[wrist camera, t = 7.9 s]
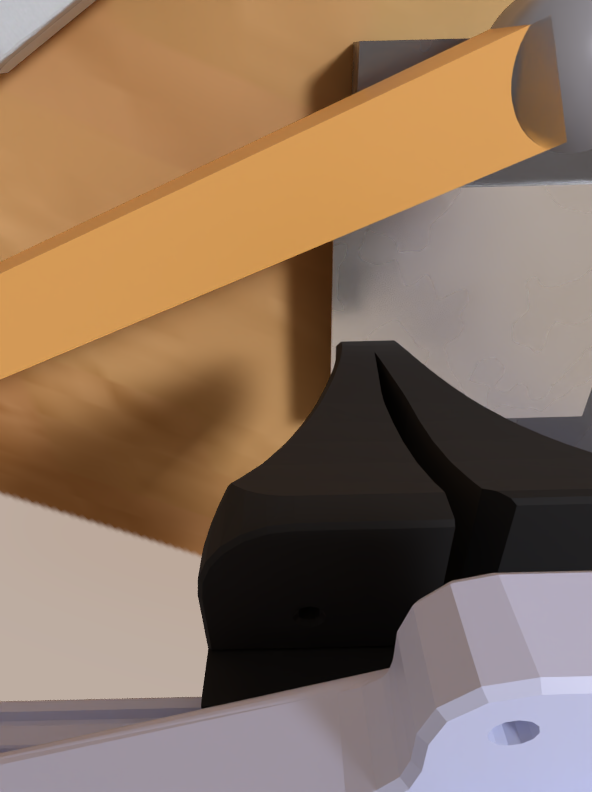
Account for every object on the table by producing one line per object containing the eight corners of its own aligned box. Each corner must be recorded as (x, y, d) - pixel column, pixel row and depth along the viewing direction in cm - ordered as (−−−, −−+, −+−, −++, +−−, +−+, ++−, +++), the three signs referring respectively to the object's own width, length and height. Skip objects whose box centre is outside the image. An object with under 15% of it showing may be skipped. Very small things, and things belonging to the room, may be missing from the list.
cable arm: (603, -46, 9) (671, -66, 8) (614, 105, 11) (674, 115, 9) (-42, 266, 12) (-92, 299, 11) (29, 354, 14) (-6, 396, 12)
